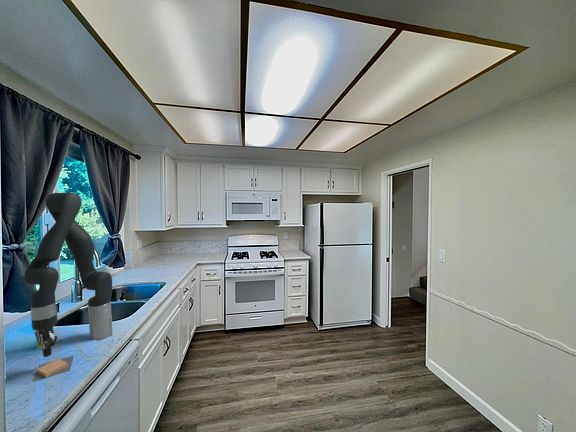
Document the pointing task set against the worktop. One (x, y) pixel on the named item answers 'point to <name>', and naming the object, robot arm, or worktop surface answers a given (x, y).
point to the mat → (67, 360)
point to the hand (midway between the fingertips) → (47, 355)
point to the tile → (52, 367)
